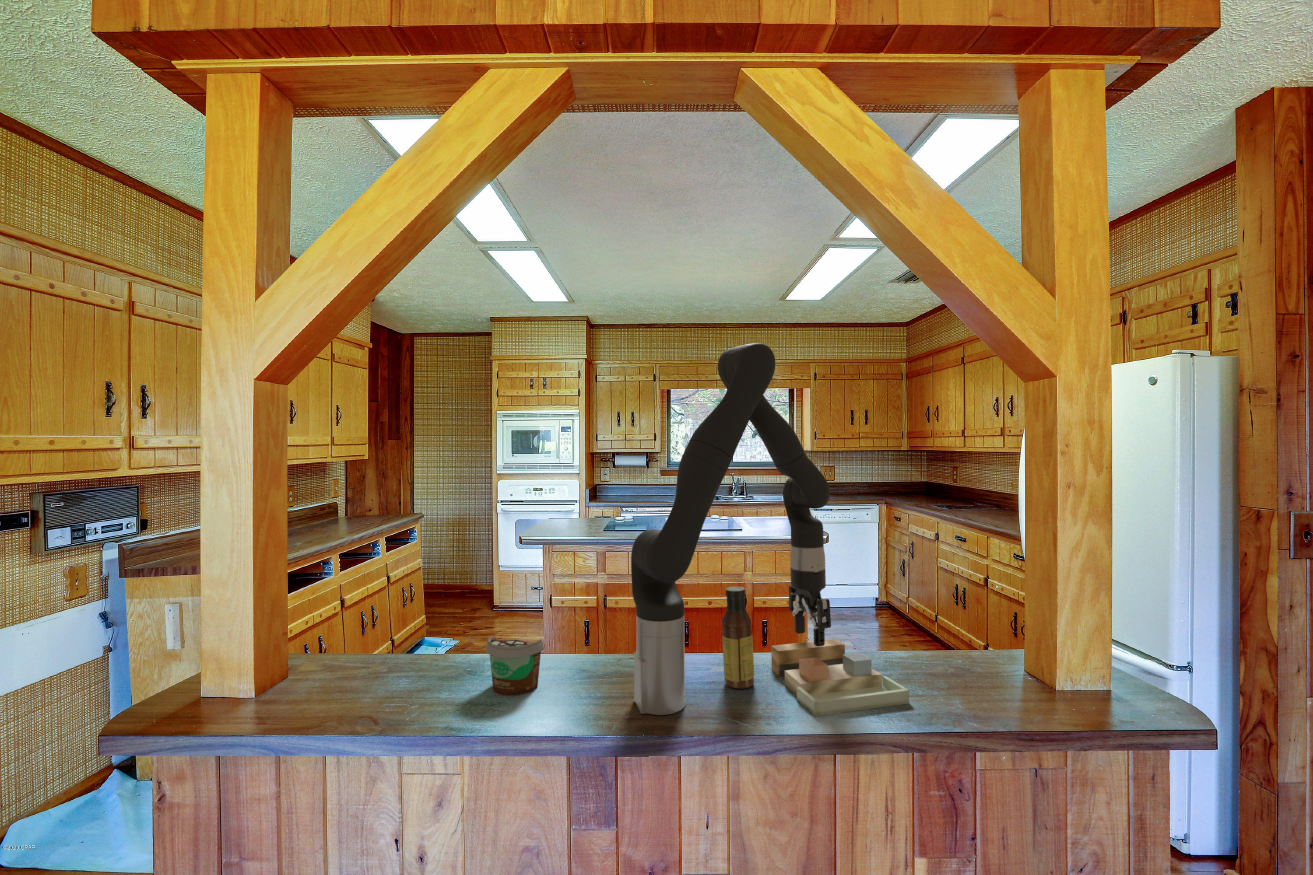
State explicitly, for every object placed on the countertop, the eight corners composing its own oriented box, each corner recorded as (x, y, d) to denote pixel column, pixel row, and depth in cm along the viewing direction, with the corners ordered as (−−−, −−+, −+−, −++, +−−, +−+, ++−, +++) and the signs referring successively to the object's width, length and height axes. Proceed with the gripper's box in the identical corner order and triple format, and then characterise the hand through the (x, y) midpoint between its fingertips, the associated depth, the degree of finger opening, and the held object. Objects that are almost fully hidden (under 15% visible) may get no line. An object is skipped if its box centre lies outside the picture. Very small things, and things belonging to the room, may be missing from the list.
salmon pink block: (809, 681, 114) (809, 666, 114) (799, 673, 118) (799, 659, 118) (827, 679, 115) (827, 664, 115) (816, 671, 119) (816, 657, 119)
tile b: (854, 676, 117) (854, 661, 117) (843, 668, 121) (842, 654, 121) (871, 674, 118) (871, 659, 118) (859, 666, 122) (859, 652, 122)
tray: (815, 716, 106) (815, 702, 106) (796, 699, 113) (796, 687, 113) (909, 703, 111) (909, 690, 111) (886, 688, 118) (886, 676, 118)
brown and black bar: (779, 677, 124) (779, 651, 124) (771, 670, 128) (771, 645, 128) (846, 670, 128) (846, 645, 128) (836, 663, 132) (836, 639, 132)
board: (801, 699, 113) (801, 683, 113) (784, 684, 120) (784, 670, 120) (881, 688, 118) (881, 674, 118) (861, 675, 125) (861, 661, 125)
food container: (474, 694, 116) (474, 644, 117) (490, 682, 122) (489, 634, 123) (530, 700, 114) (530, 649, 114) (544, 688, 120) (544, 639, 120)
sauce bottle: (753, 678, 124) (752, 584, 124) (755, 690, 117) (754, 592, 118) (722, 677, 124) (721, 584, 124) (722, 689, 118) (722, 591, 118)
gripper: (777, 560, 135) (779, 630, 135) (808, 574, 121) (810, 652, 121) (807, 558, 137) (808, 627, 137) (840, 571, 123) (842, 648, 123)
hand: (809, 639), depth 129 cm, fingers open, 8 cm apart
